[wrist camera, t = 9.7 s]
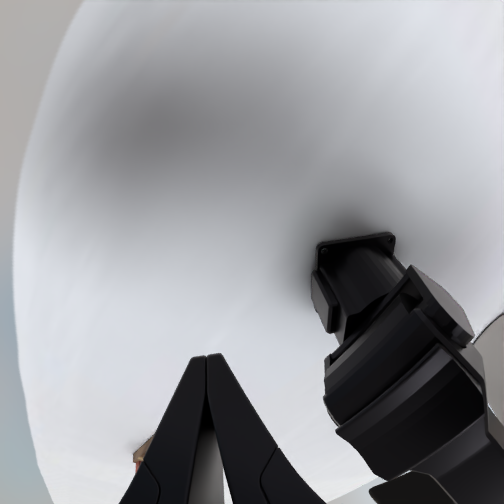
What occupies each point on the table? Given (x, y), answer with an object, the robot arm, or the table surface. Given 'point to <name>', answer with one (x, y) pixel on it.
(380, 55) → the table surface
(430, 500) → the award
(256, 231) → the table surface
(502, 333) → the cylinder vase
